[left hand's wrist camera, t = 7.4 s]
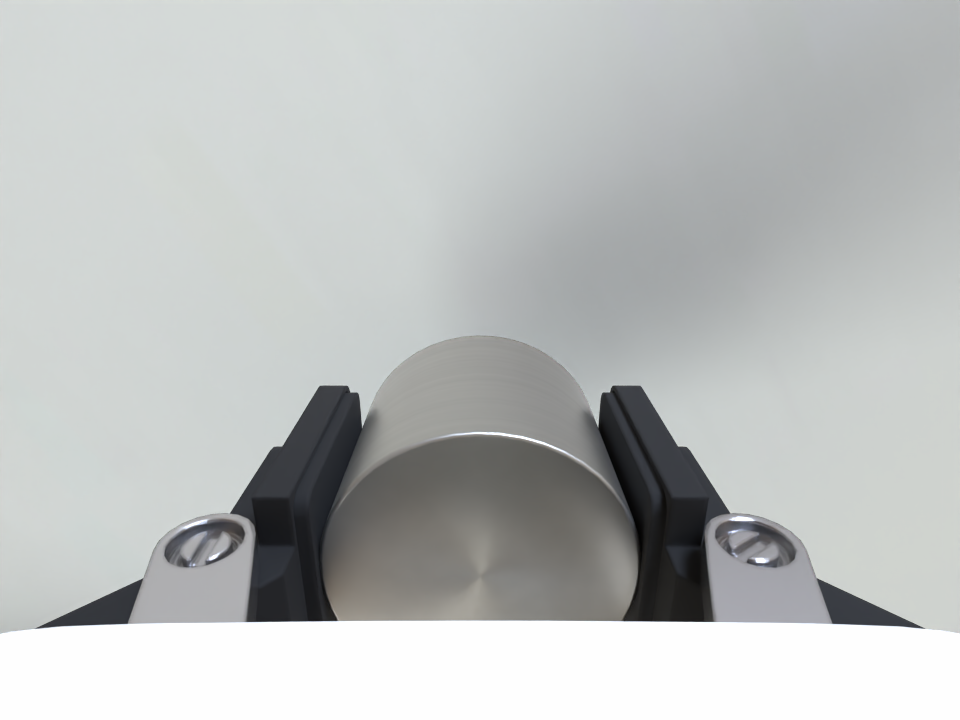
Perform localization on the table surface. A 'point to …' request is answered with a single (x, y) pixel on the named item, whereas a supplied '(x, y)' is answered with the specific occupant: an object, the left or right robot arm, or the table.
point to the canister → (480, 497)
